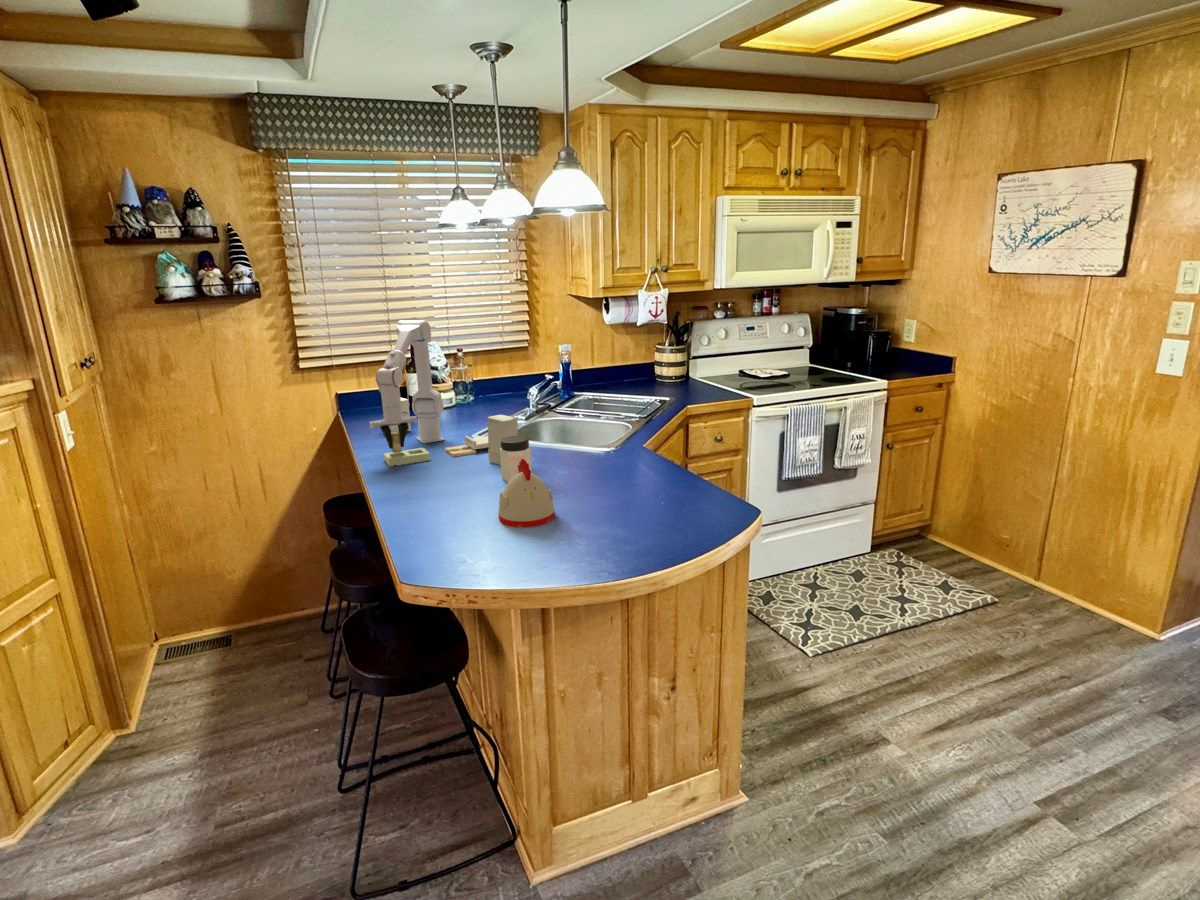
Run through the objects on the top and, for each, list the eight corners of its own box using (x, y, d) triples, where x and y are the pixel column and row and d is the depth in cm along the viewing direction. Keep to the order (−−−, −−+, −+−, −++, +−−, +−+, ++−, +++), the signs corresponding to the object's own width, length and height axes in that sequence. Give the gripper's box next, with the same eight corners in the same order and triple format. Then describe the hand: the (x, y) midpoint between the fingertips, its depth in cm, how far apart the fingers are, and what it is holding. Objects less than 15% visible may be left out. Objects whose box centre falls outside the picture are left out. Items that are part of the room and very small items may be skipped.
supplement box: (393, 435, 261) (390, 402, 257) (385, 431, 266) (381, 399, 263) (412, 431, 265) (408, 399, 262) (403, 428, 271) (399, 396, 267)
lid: (465, 443, 240) (464, 436, 239) (487, 440, 244) (486, 432, 243) (473, 449, 232) (473, 441, 232) (496, 446, 236) (495, 438, 235)
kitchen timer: (507, 531, 166) (503, 471, 162) (492, 513, 178) (488, 457, 174) (562, 521, 171) (559, 463, 167) (544, 504, 183) (541, 449, 179)
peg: (391, 451, 225) (389, 433, 224) (400, 449, 227) (398, 432, 225) (392, 453, 223) (390, 435, 221) (402, 452, 224) (400, 433, 222)
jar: (512, 472, 211) (509, 434, 208) (536, 475, 208) (534, 436, 205) (497, 481, 203) (494, 442, 200) (522, 484, 200) (519, 444, 197)
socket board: (384, 460, 227) (383, 453, 227) (423, 454, 233) (423, 447, 233) (389, 466, 221) (389, 459, 220) (430, 460, 227) (429, 453, 226)
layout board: (445, 450, 237) (444, 447, 237) (467, 447, 241) (467, 444, 241) (453, 456, 230) (452, 453, 229) (476, 453, 233) (476, 449, 233)
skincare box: (488, 462, 222) (485, 417, 218) (502, 458, 227) (499, 413, 223) (506, 466, 217) (503, 420, 213) (520, 462, 222) (517, 416, 218)
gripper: (371, 410, 214) (375, 453, 218) (417, 405, 221) (422, 446, 224) (366, 407, 220) (371, 448, 224) (412, 401, 227) (416, 441, 230)
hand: (396, 447), depth 224 cm, fingers closed on peg, 3 cm apart
